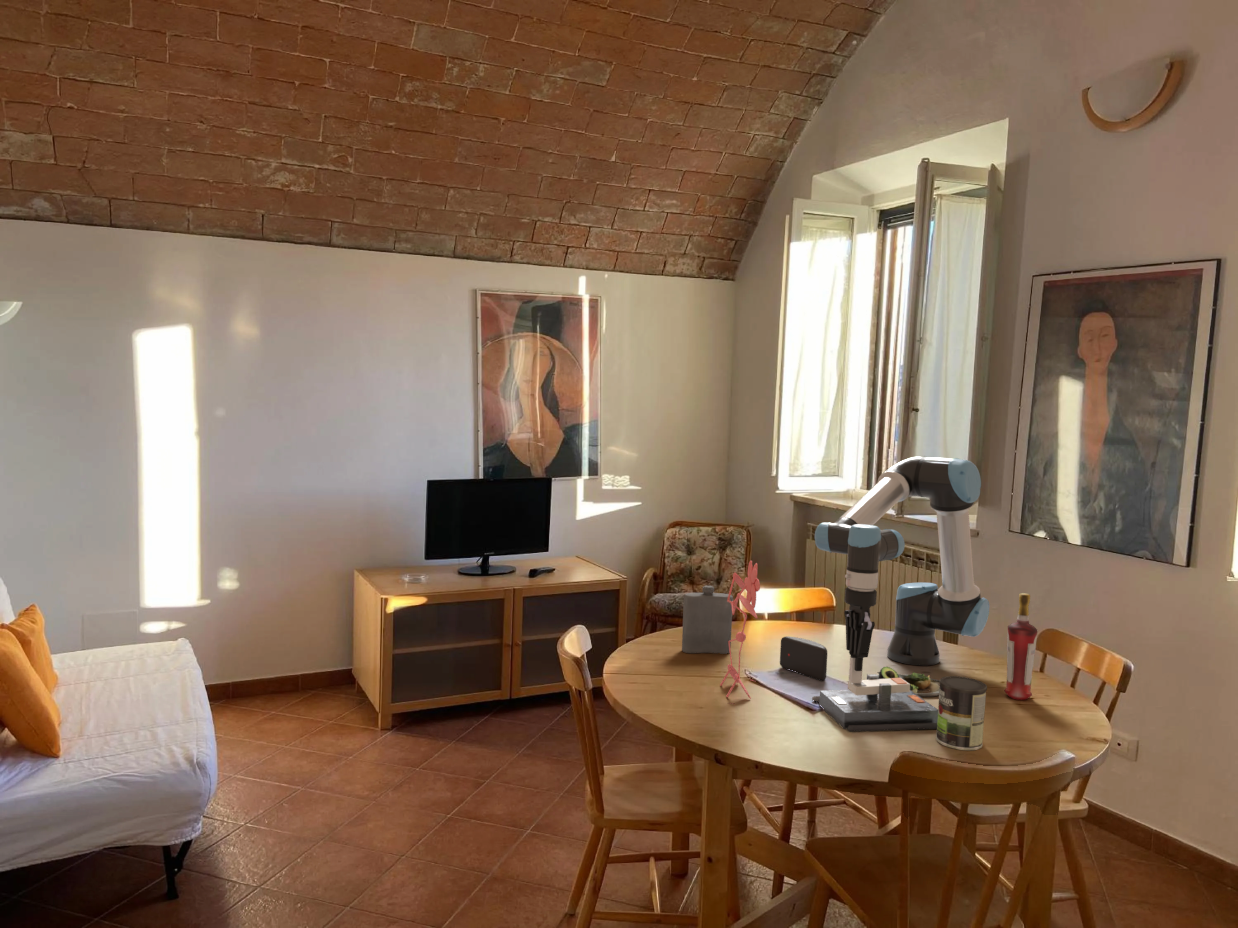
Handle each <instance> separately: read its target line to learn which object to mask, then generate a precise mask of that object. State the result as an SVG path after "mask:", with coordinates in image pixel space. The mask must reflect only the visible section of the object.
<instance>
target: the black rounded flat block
mask: <svg viewBox="0 0 1238 928" xmlns="http://www.w3.org/2000/svg"><path fill="white" fill-rule="evenodd" d="M779 652H780V653H779V654H780V655H779V665H780V667H781V668H783V669H784V668H785V669H784V670H787V669H790V670H793V671H796V672H798V673H797V674H799V673H801V674H800V675H802V674H804V675H803V676H805V675H806V676H805V677H808V676H810V677H809V678H811V677H812V679H814V678H815V679H814V680H817V679H818V680H819V681H825V680H827V679H826V678H827V672H828V671H827V670H828V669H827V666H828V649H827V648H826V646H824V645H823V644H821V643H819V642H816V641H814V640H810V639H806V638H801V637H798V636H797V637H796V636H789V635H788V636H783V637H781V639H780V649H779ZM790 670H789V671H790ZM793 671H792V672H793ZM796 672H795V673H796Z"/></svg>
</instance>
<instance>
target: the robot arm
mask: <svg viewBox="0 0 1238 928" xmlns="http://www.w3.org/2000/svg"><path fill="white" fill-rule="evenodd" d="M981 487H982V479H981V475H980V472H979V469H978V467H977V466H976V464H974V462H972V461H971V460H968V459H961V458H958V457H955V458H948V457H935V456H926V455H919V456H918V455H917V456H912V457H908V458H905V459H903V460H901V461H899V462H897V463H894V464H892V466H890V467H888V468H887V469H886V470H884V471H883V472H882V473H881V474H880V475H879V477H878V479H877V483H876V484H875V485H873V486H872V487H871V488H870V489H869V490H868V491H867V492H866V493H865V494H864V495H862V497H860V499H858V500H857V501H856V502H855V503H854V504H853V505H851V507H850V508H848V509H847V510H846V511H845V512H844V513H843V514H842V515H841V516H840V517H839V518H838V519H836V521H835V522H830V521H829V522H821V523H819V524H818V525H817V526H816V528H815V531H814V541H815V543H814V544H815V546H816V548H817V549H819V550H821V551H824V552H829V553H830V554H831V553H835V554H841V555H847V556H846V559H847V561H846V574H845V575H844V578H845V585H846V586H847V587H845V589H844V603H846V604H847V605H849V607H848V608H849V609H847V610H844V612H843V613H844V618H845V643H846V644H845V647H846V648H845V649H846V650H847V651H848V653H849V655H850V656H849V670H848V681H849V682H850V683H862V680H863V664H864V658H868V657H869V654H870V653H869V652H870V649H871V648H870V647H871V642H872V636H873V630H874V629H875V624H876V622H875V621H871V608H872V607H874V606H876V604H877V597H878V596H877V595H878V592H877V590H876V589H877V588H878V583H879V564H880V562H883V561H891V560H892V561H893V560H894V559H896V558H898V557H900V556H901V555H902V554H903V552H904V551H905V546H906V544H905V539H904V537H903V535H902V534H901V533H900V532H899V531H897V530H895V529H888V528H885V529H881V528H880V527H879V526H877V525H875V524H876V523H877V522H878V521H879V520H880V519H881V518H883V516H885V514H886V513H888V511H890V510H891V509H892V508H893V507H894V506H895V505H896V504H897V503H901V502H903V501H905V500H906V499H908V498H909V497H910V498H911V497H919V498H928V499H929V506H930V508H931V510H933V511H934V512H936V513H935V514H936V523H937V534H938V547H939V557H940V568H941V571H940V572H941V581H942V582H941V583H942V585H941V586H940V587H938V584H936V583H934V582H908V583H903V584H900V585H899V586H898V588H897V590H896V597H895V619H894V632H893V635H892V637H891V640H890V642H889V644H888V647H887V651H886V652H887V658H889V659H890V660H892V661H894V662H897V663H901V664H904V665H913V666H933V665H937V664H939V662H940V652H939V647H938V644H937V639H936V635H935V634H936V633H935V632H936V630H938V631H941V632H947V633H951V634H955V635H961V637H962V636H963V637H964V636H967V637H978V636H979V635H980V634H981V633H983V631H984V629H985V627H986V625H987V622H988V618H989V614H990V605H991V604H990V602H989V600H988V599H987V598H985V597H982V595H981V589H980V587H979V586H978V585H976V584H975V579H974V577H975V576H974V565H973V551H972V541H971V539H972V538H971V526H970V523H971V522H970V514H969V513H970V511H969V510H971V508H972V507H974V504H975V502H977V501H978V499H979V497H980V495H981Z"/></svg>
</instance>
